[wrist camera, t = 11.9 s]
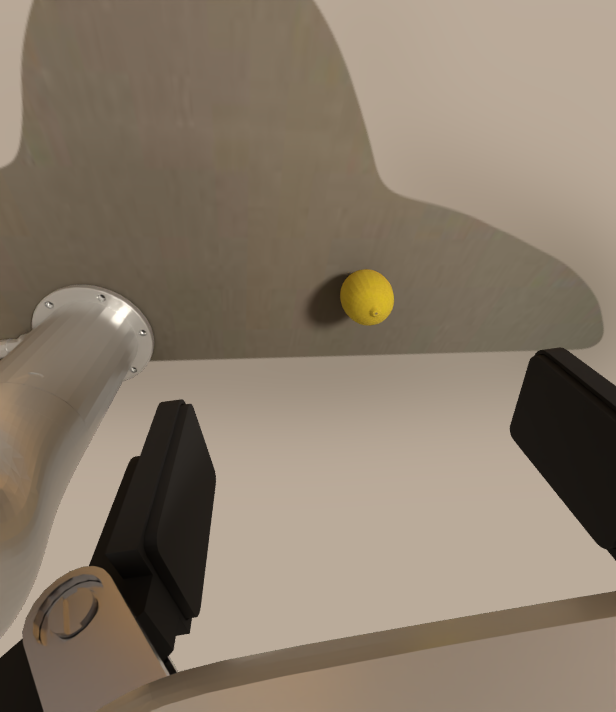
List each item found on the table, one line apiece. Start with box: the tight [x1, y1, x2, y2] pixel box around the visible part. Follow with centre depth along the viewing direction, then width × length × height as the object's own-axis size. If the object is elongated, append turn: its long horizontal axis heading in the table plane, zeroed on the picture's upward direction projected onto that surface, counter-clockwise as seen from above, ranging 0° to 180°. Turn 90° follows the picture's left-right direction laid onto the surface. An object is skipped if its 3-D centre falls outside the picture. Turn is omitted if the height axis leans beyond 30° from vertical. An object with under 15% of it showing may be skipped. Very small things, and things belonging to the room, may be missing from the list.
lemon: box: [340, 269, 394, 325], centre depth 39 cm, size 6×6×8 cm
